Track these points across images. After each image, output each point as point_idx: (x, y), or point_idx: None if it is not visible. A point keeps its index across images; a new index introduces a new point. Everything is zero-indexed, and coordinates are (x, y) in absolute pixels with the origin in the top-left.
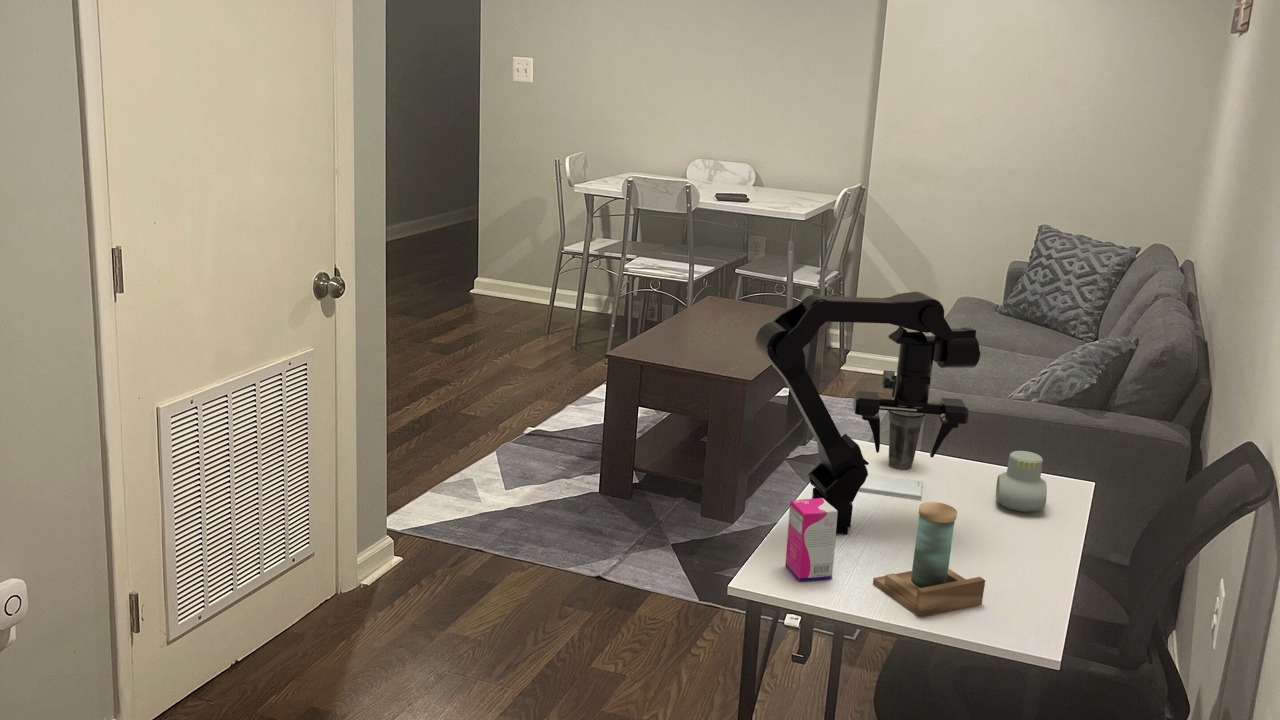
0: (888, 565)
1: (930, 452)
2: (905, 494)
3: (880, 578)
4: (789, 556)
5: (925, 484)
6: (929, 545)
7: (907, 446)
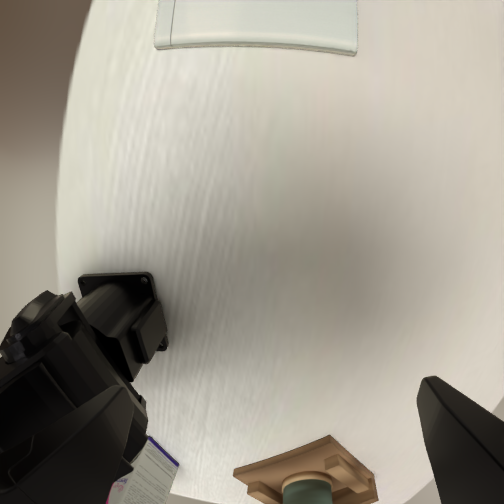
0: (256, 431)
1: (427, 396)
2: (309, 45)
3: (242, 476)
4: None
5: None
6: None
7: None
